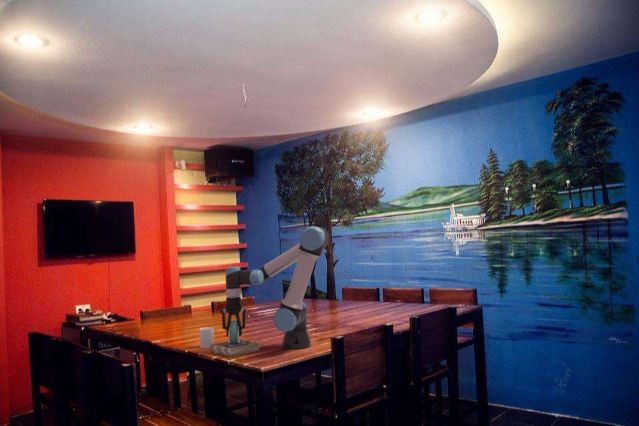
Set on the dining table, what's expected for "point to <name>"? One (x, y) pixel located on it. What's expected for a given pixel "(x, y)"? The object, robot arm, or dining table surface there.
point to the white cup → (206, 337)
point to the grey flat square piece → (234, 348)
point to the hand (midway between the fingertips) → (234, 342)
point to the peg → (233, 332)
